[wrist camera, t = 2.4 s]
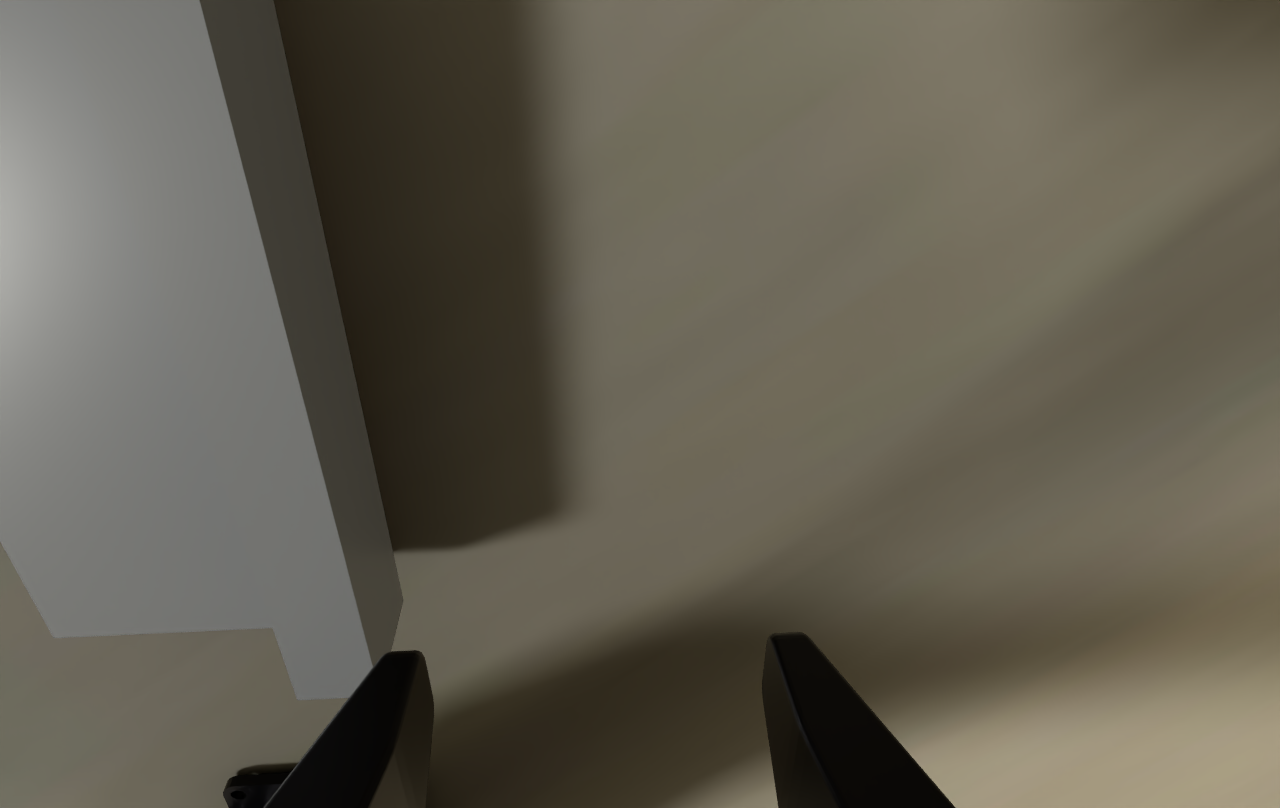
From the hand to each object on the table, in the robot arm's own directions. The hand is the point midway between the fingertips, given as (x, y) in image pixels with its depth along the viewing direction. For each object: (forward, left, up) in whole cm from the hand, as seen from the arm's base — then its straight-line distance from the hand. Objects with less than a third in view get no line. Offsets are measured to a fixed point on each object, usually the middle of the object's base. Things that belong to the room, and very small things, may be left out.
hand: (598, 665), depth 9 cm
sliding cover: (+10, 0, -11) cm, 15 cm away
